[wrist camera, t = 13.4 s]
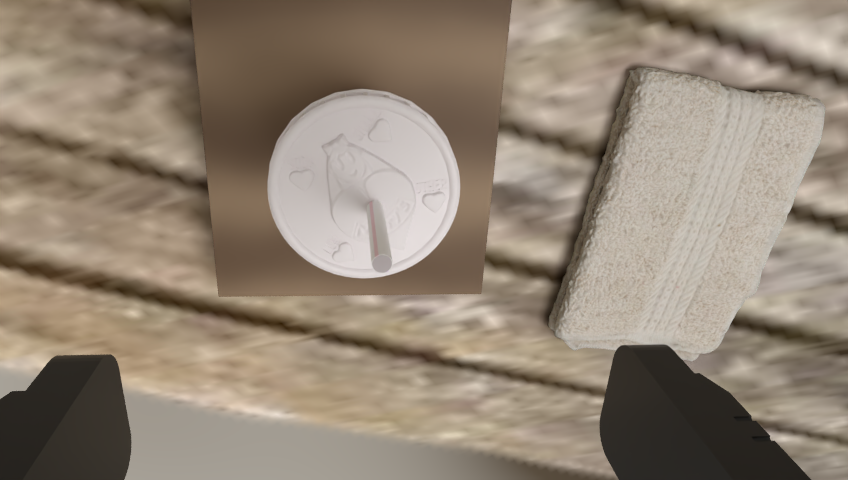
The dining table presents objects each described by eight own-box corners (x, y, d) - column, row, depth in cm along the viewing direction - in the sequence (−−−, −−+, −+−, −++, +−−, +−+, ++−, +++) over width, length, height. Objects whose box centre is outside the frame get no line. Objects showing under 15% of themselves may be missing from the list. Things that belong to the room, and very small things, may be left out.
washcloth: (538, 331, 39) (553, 358, 36) (621, 57, 32) (647, 64, 30) (696, 347, 41) (722, 373, 38) (803, 93, 35) (844, 103, 32)
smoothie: (339, 215, 29) (333, 389, 17) (263, 104, 27) (187, 210, 14) (449, 150, 29) (531, 279, 16) (382, 30, 26) (416, 72, 13)
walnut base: (203, -88, 27) (180, -100, 23) (497, -66, 29) (519, -74, 25) (232, 263, 34) (218, 296, 30) (467, 262, 36) (481, 293, 32)
